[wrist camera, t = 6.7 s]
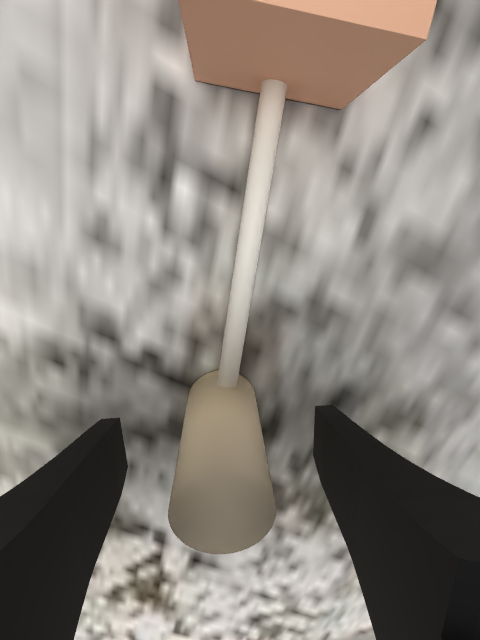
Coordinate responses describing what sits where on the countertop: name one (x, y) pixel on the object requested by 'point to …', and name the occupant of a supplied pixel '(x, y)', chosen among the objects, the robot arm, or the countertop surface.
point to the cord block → (274, 86)
